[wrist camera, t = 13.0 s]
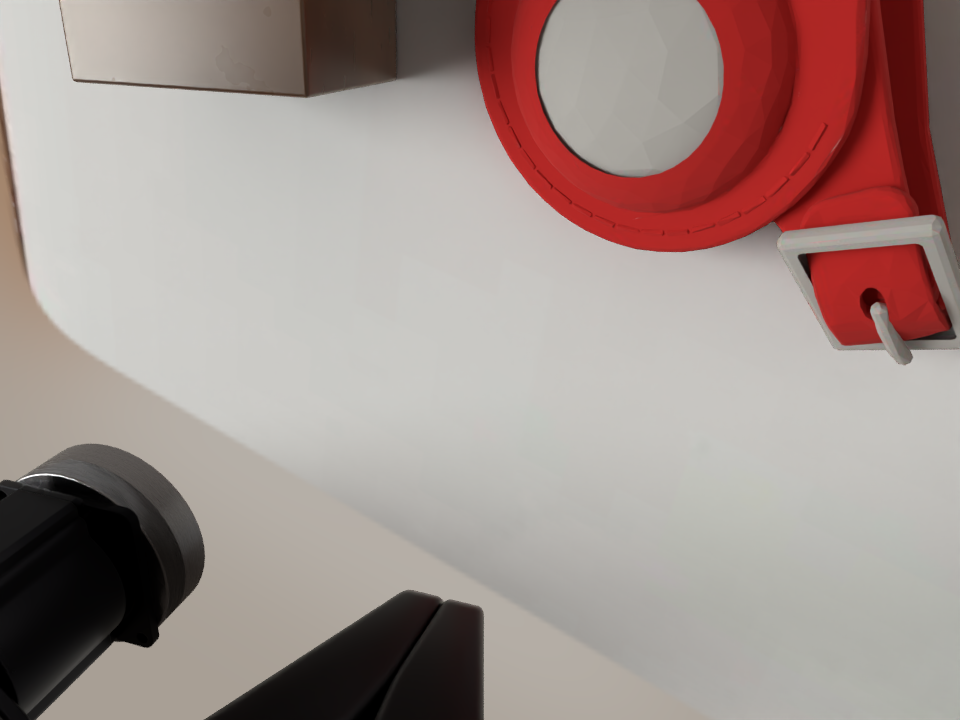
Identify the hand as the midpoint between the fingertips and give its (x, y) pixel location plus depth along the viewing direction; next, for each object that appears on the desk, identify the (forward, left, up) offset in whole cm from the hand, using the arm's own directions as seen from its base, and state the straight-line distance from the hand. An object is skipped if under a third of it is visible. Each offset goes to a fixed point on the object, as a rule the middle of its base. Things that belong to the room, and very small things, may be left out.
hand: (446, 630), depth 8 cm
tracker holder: (+4, -2, -13) cm, 14 cm away
